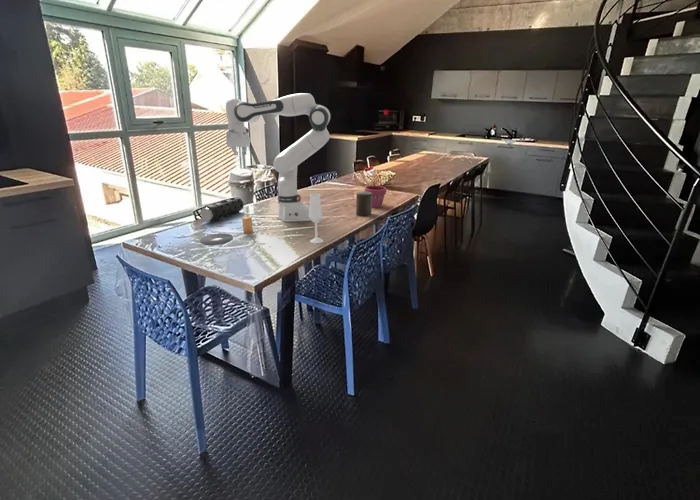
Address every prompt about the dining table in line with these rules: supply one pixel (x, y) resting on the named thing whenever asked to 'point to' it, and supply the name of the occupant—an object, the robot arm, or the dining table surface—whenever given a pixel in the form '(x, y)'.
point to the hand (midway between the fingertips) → (240, 155)
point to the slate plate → (216, 239)
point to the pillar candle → (363, 203)
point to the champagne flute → (315, 214)
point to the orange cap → (247, 225)
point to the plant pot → (376, 195)
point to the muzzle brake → (222, 209)
